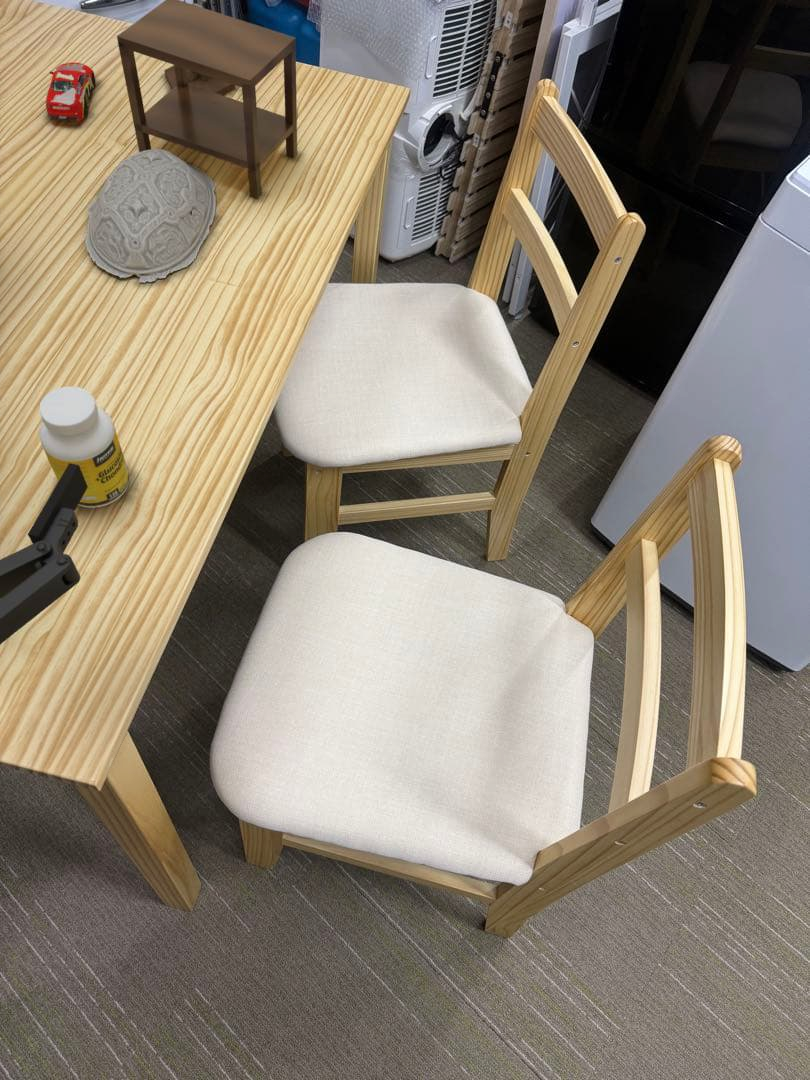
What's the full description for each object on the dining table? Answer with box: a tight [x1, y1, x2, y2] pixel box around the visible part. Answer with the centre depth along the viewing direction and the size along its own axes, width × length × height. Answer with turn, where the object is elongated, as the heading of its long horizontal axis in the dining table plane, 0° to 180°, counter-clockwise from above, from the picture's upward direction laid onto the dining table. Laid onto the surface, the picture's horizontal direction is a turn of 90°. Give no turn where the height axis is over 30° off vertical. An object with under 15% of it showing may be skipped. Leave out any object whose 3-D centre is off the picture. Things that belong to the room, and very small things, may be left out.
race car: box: [45, 62, 96, 123], centre depth 111 cm, size 13×5×4 cm, turn 3°
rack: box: [116, 0, 298, 200], centre depth 102 cm, size 12×18×16 cm, turn 68°
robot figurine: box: [163, 0, 236, 96], centre depth 113 cm, size 11×9×12 cm
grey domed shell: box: [84, 148, 217, 284], centre depth 98 cm, size 16×25×7 cm, turn 178°
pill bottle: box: [39, 385, 130, 509], centre depth 73 cm, size 6×6×12 cm
